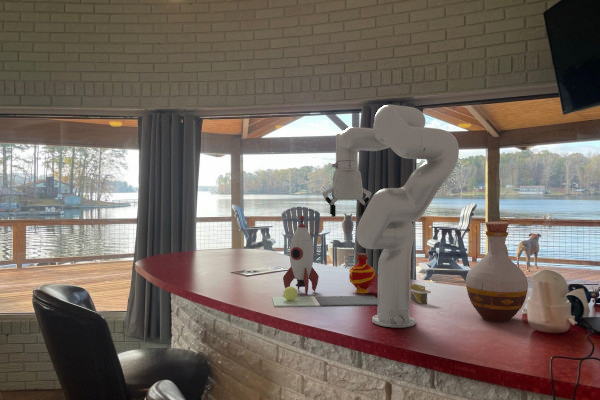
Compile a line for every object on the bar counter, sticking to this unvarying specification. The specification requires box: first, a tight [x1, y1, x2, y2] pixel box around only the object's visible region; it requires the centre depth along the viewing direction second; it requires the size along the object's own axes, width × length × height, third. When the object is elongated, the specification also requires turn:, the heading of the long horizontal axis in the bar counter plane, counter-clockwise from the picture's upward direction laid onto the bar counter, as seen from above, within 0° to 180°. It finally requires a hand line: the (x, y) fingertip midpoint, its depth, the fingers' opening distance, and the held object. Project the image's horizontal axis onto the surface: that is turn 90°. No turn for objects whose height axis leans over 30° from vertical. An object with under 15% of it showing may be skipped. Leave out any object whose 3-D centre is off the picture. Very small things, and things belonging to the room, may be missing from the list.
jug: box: [465, 221, 529, 323], centre depth 150 cm, size 20×18×30 cm
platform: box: [410, 283, 432, 305], centre depth 172 cm, size 12×18×7 cm, turn 29°
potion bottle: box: [348, 252, 376, 294], centre depth 190 cm, size 10×10×15 cm
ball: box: [283, 285, 299, 301], centre depth 170 cm, size 5×5×5 cm
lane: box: [271, 295, 378, 308], centre depth 171 cm, size 14×38×1 cm, turn 96°
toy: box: [282, 215, 319, 297], centre depth 187 cm, size 11×11×30 cm
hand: (347, 216), depth 166 cm, fingers open, 9 cm apart
